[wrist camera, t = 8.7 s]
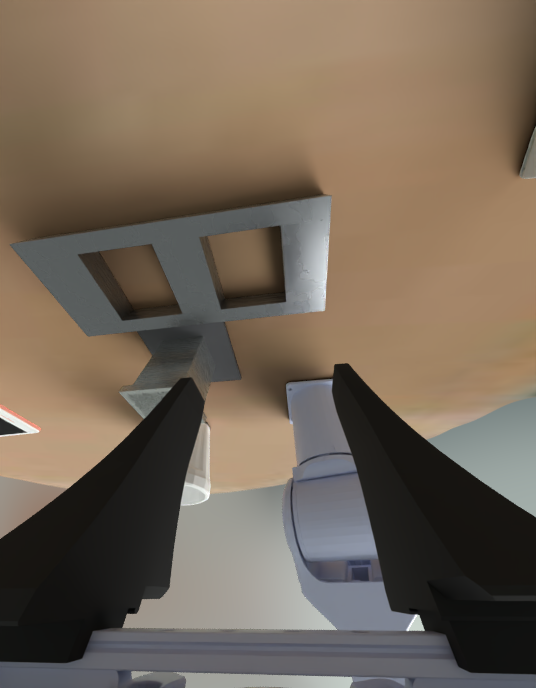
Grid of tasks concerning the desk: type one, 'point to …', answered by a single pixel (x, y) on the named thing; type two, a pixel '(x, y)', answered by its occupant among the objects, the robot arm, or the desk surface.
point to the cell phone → (15, 423)
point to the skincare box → (530, 160)
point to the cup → (198, 470)
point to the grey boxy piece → (171, 373)
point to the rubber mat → (214, 339)
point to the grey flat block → (184, 267)
